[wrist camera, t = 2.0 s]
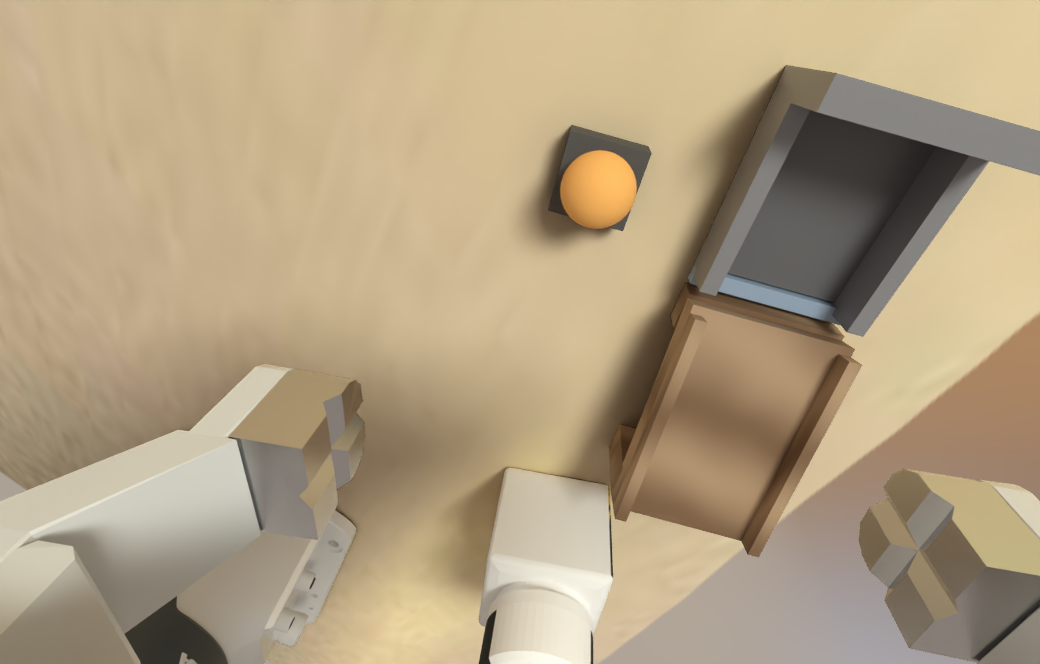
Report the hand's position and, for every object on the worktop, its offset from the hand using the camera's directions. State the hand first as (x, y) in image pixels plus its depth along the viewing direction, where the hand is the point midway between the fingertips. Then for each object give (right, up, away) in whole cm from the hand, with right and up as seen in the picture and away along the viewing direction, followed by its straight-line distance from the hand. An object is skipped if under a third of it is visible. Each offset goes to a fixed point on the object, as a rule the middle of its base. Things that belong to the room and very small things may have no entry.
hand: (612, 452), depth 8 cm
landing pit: (+12, +7, +16) cm, 21 cm away
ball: (+2, +8, +14) cm, 16 cm away
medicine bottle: (+1, -11, +28) cm, 30 cm away
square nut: (+2, +9, +16) cm, 19 cm away
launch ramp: (+9, -2, +21) cm, 23 cm away
